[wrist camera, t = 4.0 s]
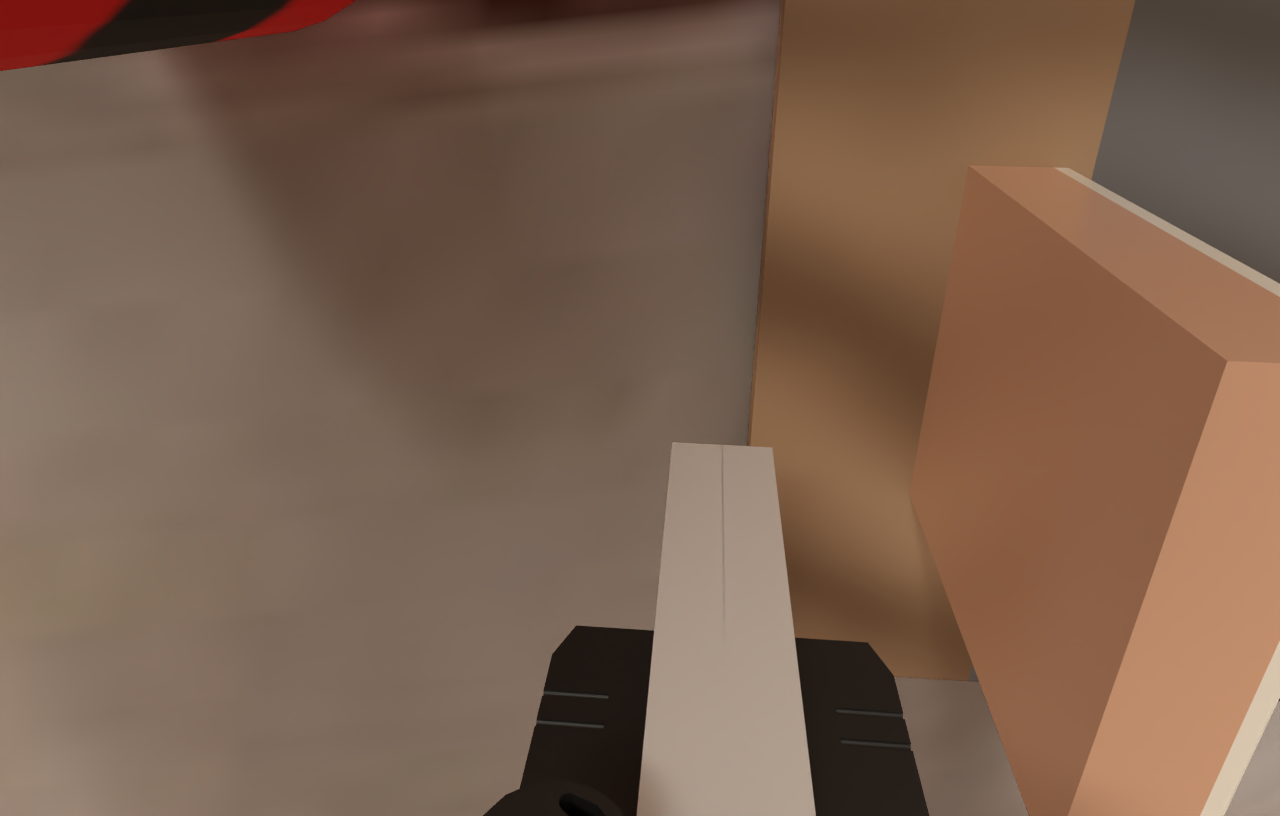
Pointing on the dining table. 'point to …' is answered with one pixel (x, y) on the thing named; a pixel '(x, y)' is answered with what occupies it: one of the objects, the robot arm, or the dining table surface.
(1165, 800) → the tile
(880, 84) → the board
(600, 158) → the dining table surface
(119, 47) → the soda can
